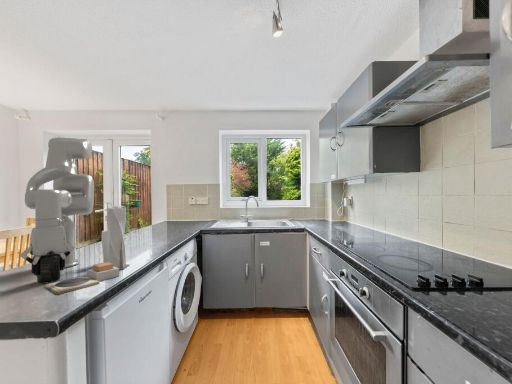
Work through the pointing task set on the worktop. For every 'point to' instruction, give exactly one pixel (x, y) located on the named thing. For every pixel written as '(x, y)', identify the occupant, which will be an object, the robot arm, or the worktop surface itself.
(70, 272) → the worktop surface
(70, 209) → the robot arm
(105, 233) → the drinking glass
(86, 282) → the cream square coaster
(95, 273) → the button housing
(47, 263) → the supplement bottle
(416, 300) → the worktop surface
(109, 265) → the button
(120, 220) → the skyscraper
